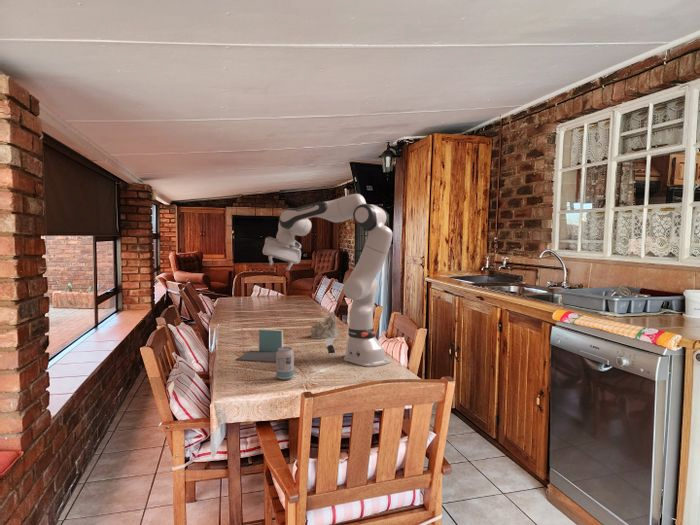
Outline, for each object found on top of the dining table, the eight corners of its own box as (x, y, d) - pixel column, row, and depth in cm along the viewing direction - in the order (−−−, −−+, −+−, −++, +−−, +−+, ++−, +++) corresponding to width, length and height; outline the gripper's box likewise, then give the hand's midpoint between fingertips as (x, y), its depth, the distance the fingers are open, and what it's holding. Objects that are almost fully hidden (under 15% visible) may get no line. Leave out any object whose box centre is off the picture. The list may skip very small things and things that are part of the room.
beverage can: (294, 375, 181) (294, 346, 180) (292, 381, 174) (292, 351, 173) (277, 375, 180) (277, 346, 180) (275, 381, 174) (275, 351, 173)
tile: (260, 350, 220) (260, 328, 219) (283, 351, 218) (283, 329, 217) (258, 351, 218) (258, 329, 217) (281, 353, 216) (281, 330, 215)
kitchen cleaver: (316, 338, 245) (334, 336, 245) (317, 341, 245) (335, 339, 246) (317, 353, 214) (337, 350, 214) (317, 356, 214) (337, 354, 215)
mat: (250, 351, 218) (250, 350, 218) (289, 353, 214) (289, 352, 214) (236, 360, 202) (235, 359, 202) (277, 363, 198) (277, 361, 198)
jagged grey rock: (340, 333, 260) (338, 308, 258) (336, 340, 244) (334, 314, 242) (314, 334, 262) (312, 309, 260) (309, 341, 245) (307, 315, 244)
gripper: (269, 234, 216) (263, 261, 212) (304, 246, 227) (299, 272, 224) (263, 236, 221) (258, 263, 217) (297, 248, 232) (293, 273, 228)
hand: (279, 267), depth 220 cm, fingers open, 8 cm apart
